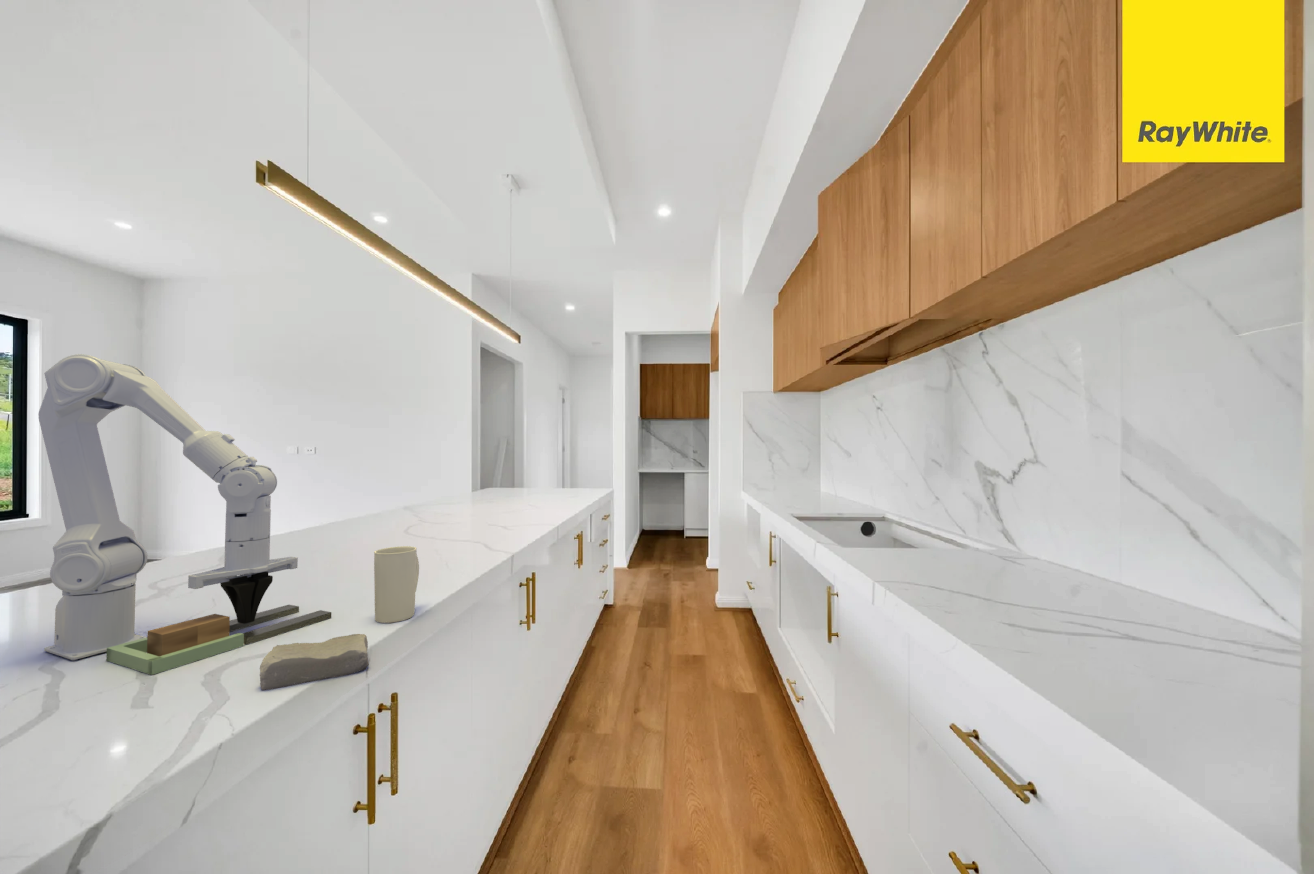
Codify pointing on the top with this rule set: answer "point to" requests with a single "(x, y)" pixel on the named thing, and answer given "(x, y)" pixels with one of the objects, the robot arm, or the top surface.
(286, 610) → the slot rails
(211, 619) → the block
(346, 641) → the stone block
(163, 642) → the walnut chip front
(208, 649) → the tray
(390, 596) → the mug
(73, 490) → the robot arm
